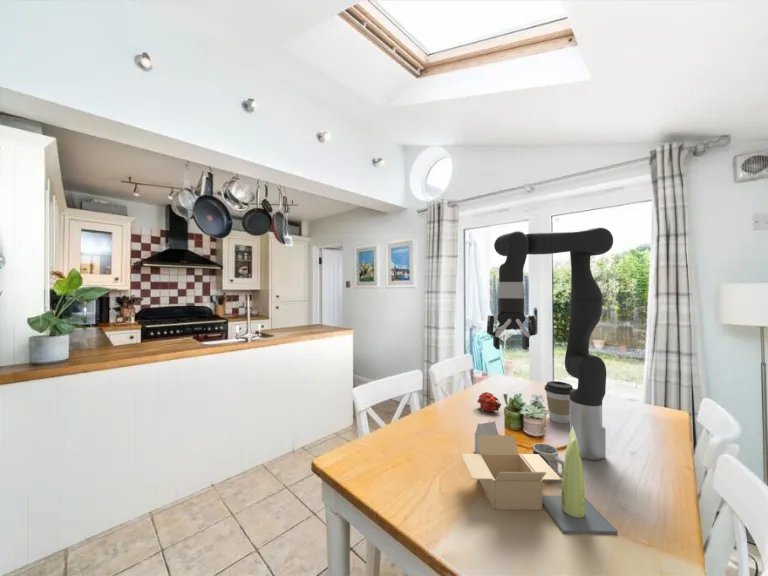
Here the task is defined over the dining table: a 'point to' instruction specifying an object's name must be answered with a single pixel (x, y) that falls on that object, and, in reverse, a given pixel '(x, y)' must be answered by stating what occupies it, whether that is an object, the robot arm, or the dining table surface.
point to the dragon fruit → (488, 402)
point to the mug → (549, 456)
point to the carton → (508, 473)
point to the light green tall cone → (573, 479)
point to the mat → (570, 524)
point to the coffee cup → (558, 401)
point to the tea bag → (485, 432)
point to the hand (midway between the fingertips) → (511, 349)
